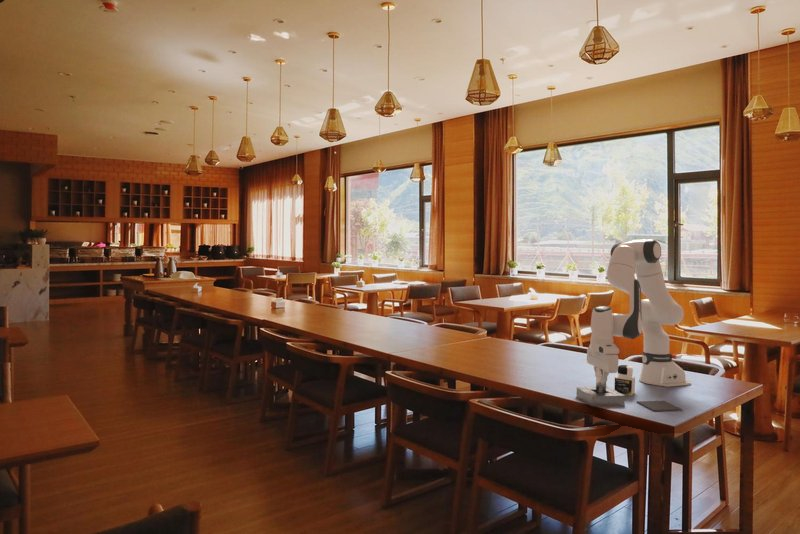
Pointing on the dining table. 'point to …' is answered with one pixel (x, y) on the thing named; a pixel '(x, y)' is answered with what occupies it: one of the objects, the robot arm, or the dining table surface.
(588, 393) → the block
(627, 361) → the dining table surface
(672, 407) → the rubber mat
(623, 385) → the medicine bottle
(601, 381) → the steel peg
